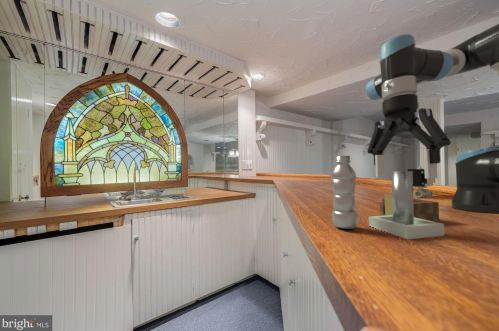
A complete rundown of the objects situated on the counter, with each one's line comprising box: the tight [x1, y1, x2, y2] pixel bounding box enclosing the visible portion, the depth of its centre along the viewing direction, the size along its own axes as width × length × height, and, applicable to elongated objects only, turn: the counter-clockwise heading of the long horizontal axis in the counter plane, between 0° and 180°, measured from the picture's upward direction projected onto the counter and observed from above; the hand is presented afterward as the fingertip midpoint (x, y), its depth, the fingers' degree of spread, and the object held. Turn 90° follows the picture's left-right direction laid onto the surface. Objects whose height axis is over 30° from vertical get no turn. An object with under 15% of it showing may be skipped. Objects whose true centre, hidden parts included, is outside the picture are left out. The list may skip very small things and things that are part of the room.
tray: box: [368, 215, 445, 240], centre depth 52 cm, size 11×11×3 cm
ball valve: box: [406, 165, 436, 198], centre depth 112 cm, size 18×8×18 cm, turn 124°
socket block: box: [379, 198, 440, 223], centre depth 63 cm, size 13×10×6 cm
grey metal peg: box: [391, 170, 414, 225], centre depth 52 cm, size 4×4×15 cm
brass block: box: [383, 192, 393, 215], centre depth 62 cm, size 2×3×8 cm
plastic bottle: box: [330, 155, 359, 230], centre depth 55 cm, size 6×7×20 cm
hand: (402, 177), depth 53 cm, fingers open, 13 cm apart
